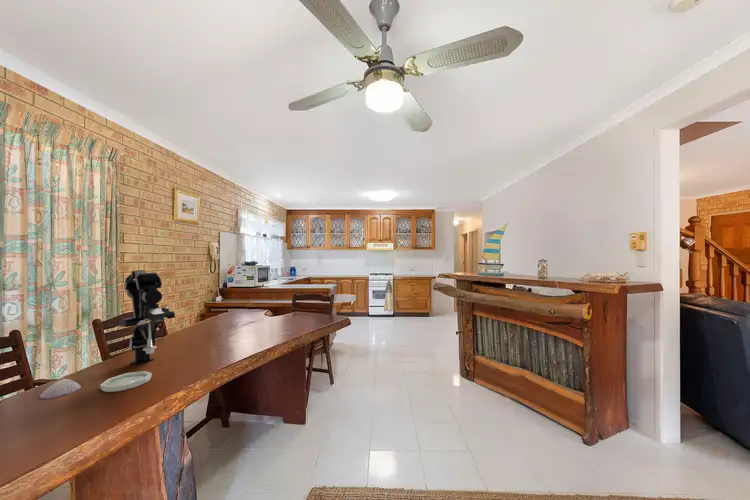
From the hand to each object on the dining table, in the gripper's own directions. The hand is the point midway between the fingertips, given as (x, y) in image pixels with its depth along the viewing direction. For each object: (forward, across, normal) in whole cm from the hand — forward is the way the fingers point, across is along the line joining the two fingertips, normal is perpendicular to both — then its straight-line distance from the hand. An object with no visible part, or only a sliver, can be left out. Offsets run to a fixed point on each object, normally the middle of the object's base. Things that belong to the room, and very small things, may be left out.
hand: (149, 338), depth 130 cm
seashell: (+14, -26, +7) cm, 30 cm away
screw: (+6, 0, 0) cm, 6 cm away
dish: (+13, -12, -8) cm, 19 cm away
